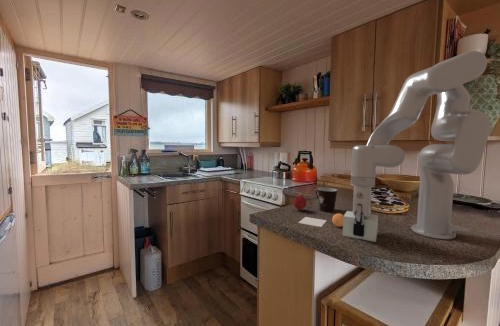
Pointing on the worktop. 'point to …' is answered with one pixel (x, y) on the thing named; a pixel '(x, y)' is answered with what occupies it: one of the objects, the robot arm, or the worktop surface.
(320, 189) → the coffee mug
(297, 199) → the onion
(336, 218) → the ball
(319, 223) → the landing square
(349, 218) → the pale sage box
